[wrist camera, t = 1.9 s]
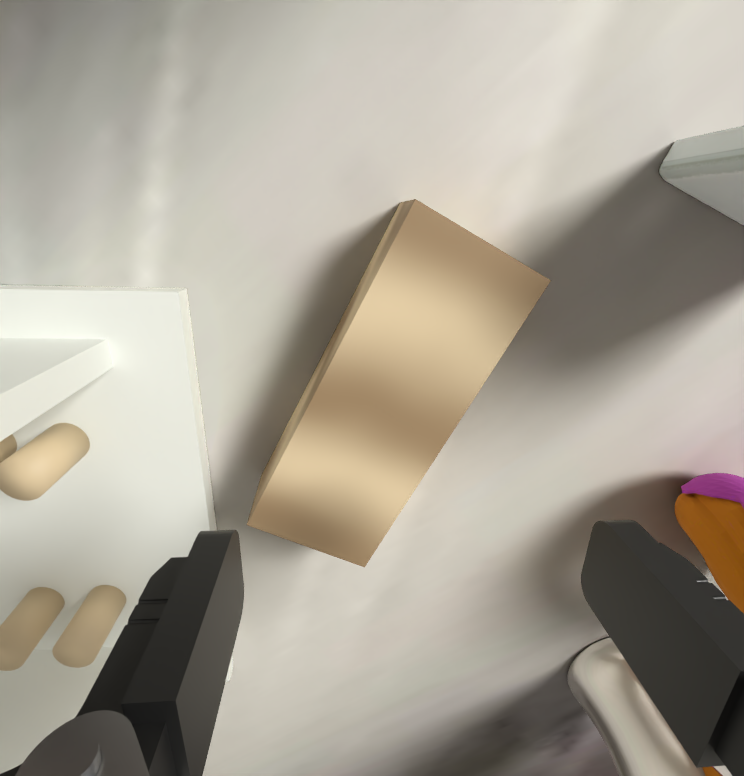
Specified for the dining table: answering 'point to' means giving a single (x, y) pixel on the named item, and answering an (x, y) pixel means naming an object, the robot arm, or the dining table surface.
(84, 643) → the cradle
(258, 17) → the dining table surface
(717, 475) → the donut
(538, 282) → the plank
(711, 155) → the external hard drive
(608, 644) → the beer glass
